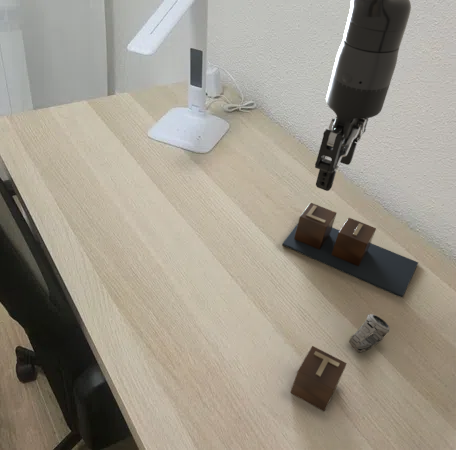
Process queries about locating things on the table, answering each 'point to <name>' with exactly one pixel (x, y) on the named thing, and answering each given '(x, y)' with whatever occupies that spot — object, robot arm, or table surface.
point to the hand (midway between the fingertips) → (333, 174)
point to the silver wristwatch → (369, 333)
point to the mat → (362, 263)
